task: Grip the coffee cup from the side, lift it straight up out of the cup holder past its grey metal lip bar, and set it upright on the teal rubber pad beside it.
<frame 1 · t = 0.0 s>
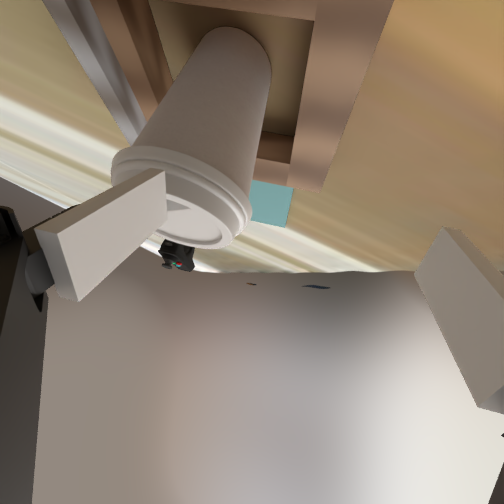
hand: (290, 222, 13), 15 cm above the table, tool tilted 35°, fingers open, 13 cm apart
controller: (188, 230, 61), on the table
pad: (244, 193, 41), on the table
cup holder: (234, 69, 23), on the table
coffee cup: (234, 68, 23), resting in cup holder
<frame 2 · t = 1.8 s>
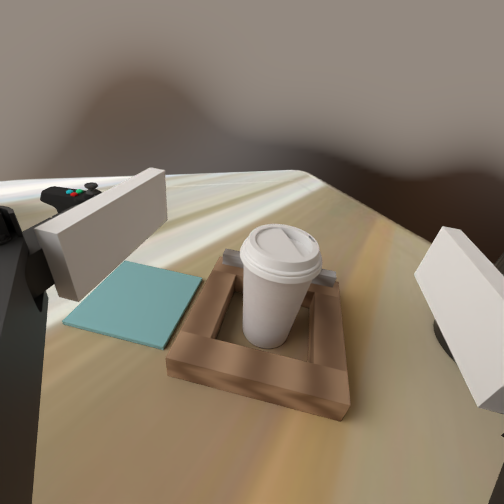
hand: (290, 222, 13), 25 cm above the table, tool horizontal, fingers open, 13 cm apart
controller: (85, 230, 54), on the table
pad: (141, 299, 41), on the table
cup holder: (265, 329, 39), on the table
coffee cup: (265, 330, 39), resting in cup holder
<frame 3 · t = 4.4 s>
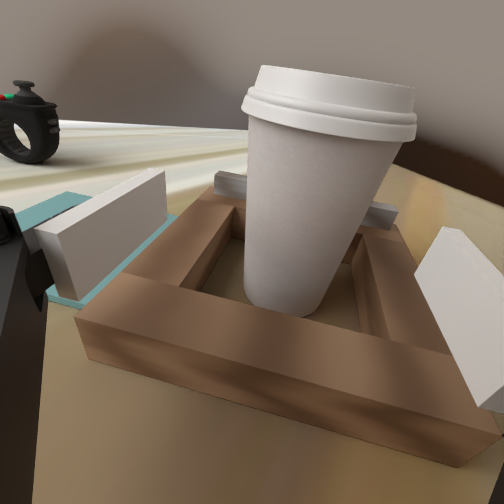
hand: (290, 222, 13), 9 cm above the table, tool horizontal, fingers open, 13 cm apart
controller: (24, 161, 38), on the table
pad: (77, 239, 25), on the table
cup holder: (281, 288, 23), on the table
coffee cup: (281, 290, 23), resting in cup holder
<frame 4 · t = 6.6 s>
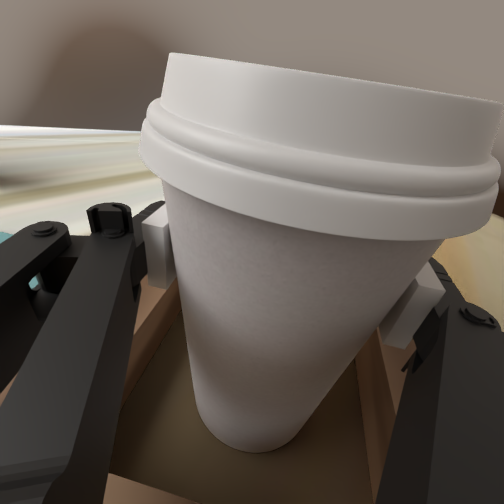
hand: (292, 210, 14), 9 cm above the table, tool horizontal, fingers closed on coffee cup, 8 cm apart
cup holder: (252, 386, 15), on the table
coffee cup: (252, 388, 16), resting in cup holder, touching gripper
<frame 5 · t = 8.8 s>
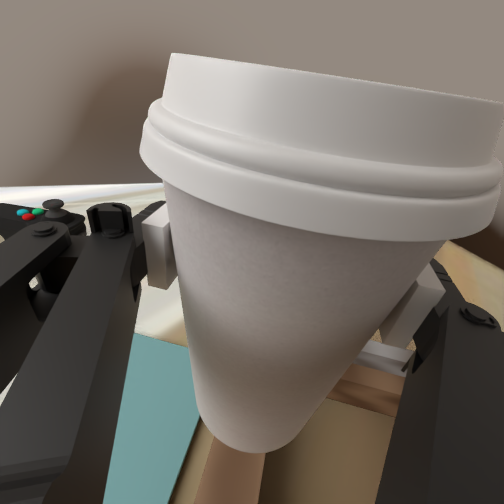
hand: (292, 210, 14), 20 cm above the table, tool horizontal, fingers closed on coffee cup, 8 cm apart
controller: (50, 266, 38), on the table
pad: (118, 407, 24), on the table
cup holder: (338, 476, 21), on the table
coffee cup: (252, 388, 16), point 11 cm above the table, touching gripper
when the fingers open (11 cm above the table, at t = 11.4 s): coffee cup drops 1 cm, resting on pad.
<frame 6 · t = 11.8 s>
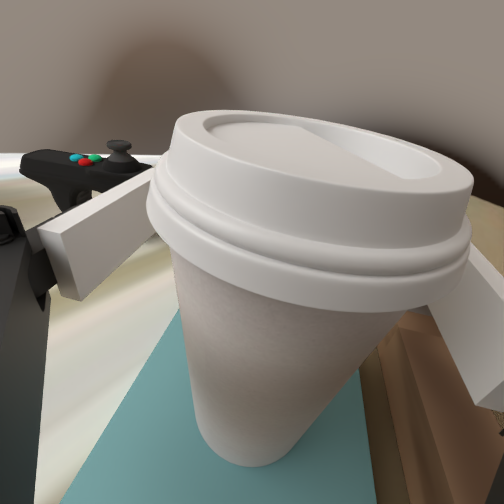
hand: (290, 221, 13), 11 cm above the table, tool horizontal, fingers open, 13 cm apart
controller: (102, 232, 30), on the table
pad: (248, 404, 17), on the table
coffee cup: (249, 403, 16), resting on pad
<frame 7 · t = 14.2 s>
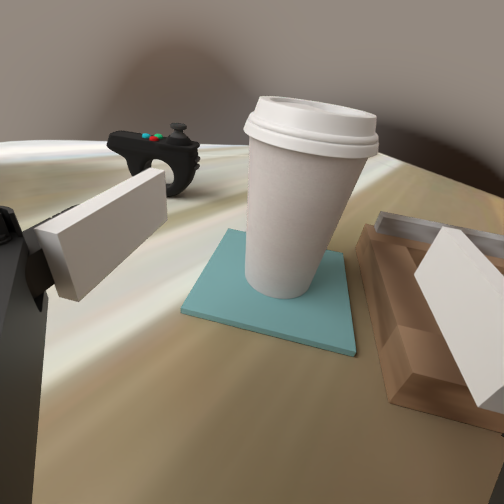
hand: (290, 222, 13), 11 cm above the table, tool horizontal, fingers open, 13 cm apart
controller: (158, 194, 41), on the table
pad: (275, 279, 27), on the table
cup holder: (475, 326, 25), on the table
coffee cup: (276, 277, 27), resting on pad
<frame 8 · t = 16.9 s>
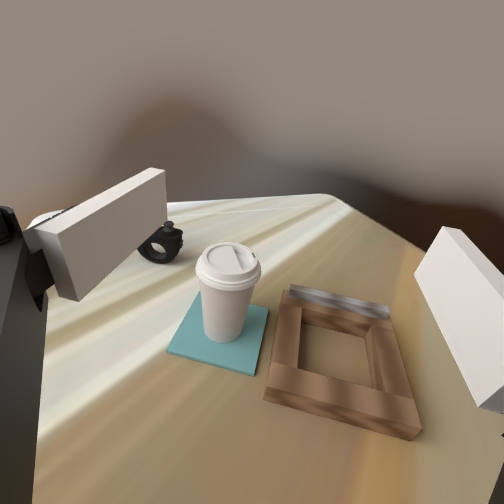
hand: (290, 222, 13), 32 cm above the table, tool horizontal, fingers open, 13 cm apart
controller: (155, 260, 61), on the table
pad: (222, 329, 47), on the table
cup holder: (331, 357, 45), on the table
coffee cup: (222, 328, 47), resting on pad
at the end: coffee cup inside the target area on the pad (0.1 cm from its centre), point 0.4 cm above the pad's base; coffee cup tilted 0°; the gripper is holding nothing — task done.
